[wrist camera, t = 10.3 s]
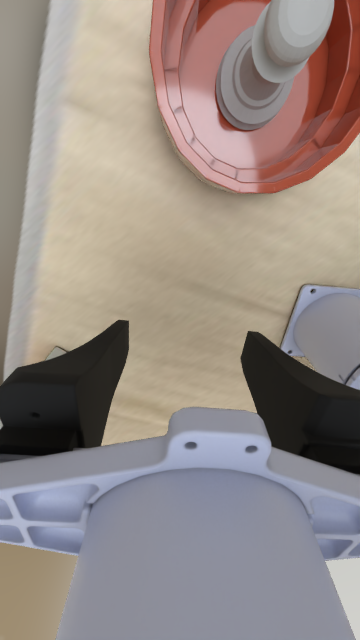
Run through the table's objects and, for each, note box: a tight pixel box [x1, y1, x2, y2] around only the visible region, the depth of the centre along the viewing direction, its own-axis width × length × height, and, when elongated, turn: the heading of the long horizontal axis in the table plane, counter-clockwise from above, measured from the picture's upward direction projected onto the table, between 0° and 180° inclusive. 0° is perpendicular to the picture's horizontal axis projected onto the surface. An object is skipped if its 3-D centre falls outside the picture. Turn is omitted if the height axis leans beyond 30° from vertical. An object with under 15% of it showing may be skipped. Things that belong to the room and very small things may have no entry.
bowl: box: [149, 0, 360, 193], centre depth 14 cm, size 12×12×5 cm
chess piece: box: [216, 0, 334, 130], centre depth 12 cm, size 5×5×8 cm
